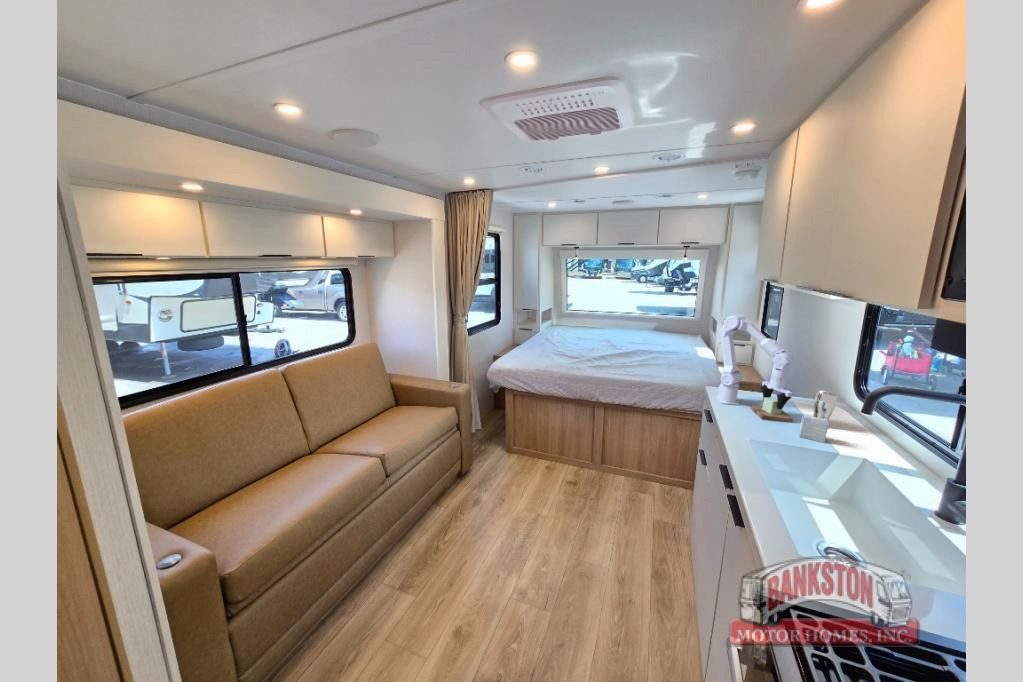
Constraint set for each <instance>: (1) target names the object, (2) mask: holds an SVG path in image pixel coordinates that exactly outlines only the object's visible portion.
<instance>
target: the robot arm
mask: <svg viewBox="0 0 1023 682" xmlns="http://www.w3.org/2000/svg"><path fill="white" fill-rule="evenodd" d="M738 330H739V331H742V332H743V331H745V332H747V333H748V334H749V335H750V336H752V337H753V338H754V339H755V340H756V341H758V343H760V348H761V349H762V350H763V351H764V352H765V353H766V354H767V355H768V356H770V357H771V358H772V362H773V366H772V370H771V375H770V379H769V381H767V380H766V381H765V380H764V381H762V383H761V385H762V386H760V390H761V392H762V397H763V400H764V397H772V394H773V392H774V391H775V392H778V393H776V398H777V409H782V410H783V408H784V406H785V405H786V404H787V402H788V401H789V400H791V399H792V397H793V396H792V395H793V392H791V391H790V390H788V389H787V388H786V385H787V379H788V374H789V369H790V363H791V362H792V361H793V359H794V356H793V354H792V353H791V352H790V351H788V350H786V348H783V347H781V346H780V345H779V344H778V343H777V342H778V341H777V339H773V338H767V337H766V336H765V335H764V333H762V331H761V330H760V329H759V328H758V327H756V325H754V323H753V322H752V321H751V319H750V318H747V316H746V315H743V314H736V315H729V316H728V317H727V318H725V319H723V324H722V326H721V327H720V332H719V336H720V344H721V352H722V361H723V368H722V370H721V376H720V382H721V383H720V384H719V387H718V392H717V395H715V398H716V399H717V400H718V401H719V402H720V404H723V405H733V406H739V405H740V404H739V402H738V401H737V398H738V393H739V386H740V384H739V383H741V382H742V380H743V375H742V373H741V372H740V367H738V365H737V359H736V357H737V356H736V349H735V342H734V334H735V333H737V331H738Z"/></svg>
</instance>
